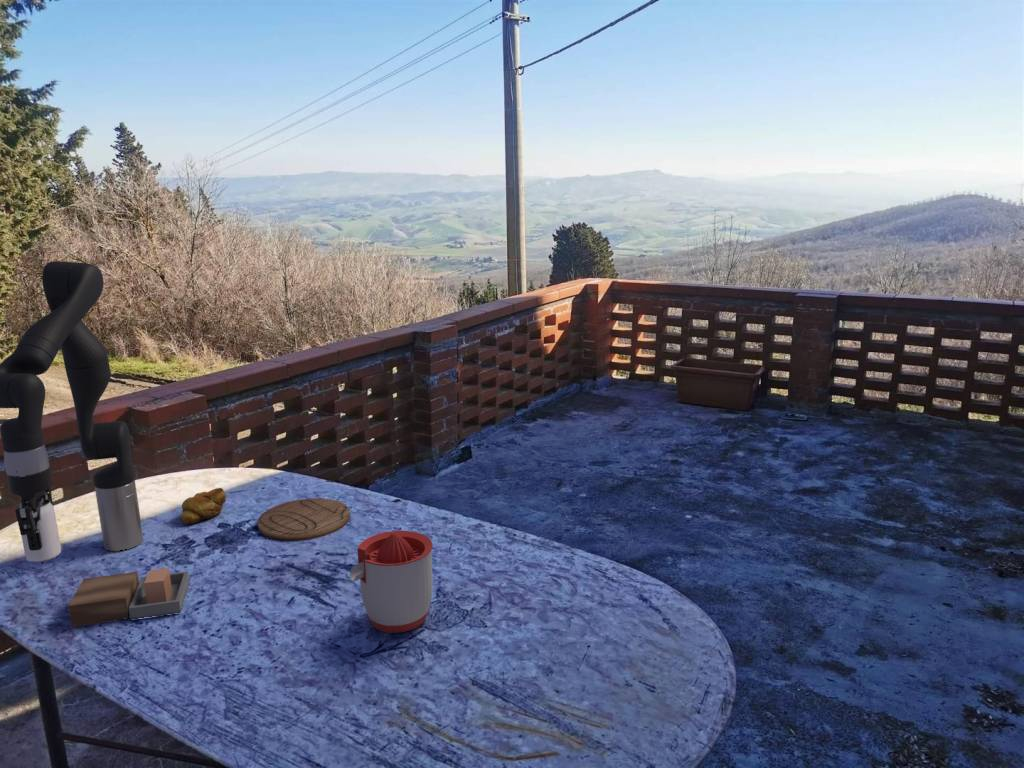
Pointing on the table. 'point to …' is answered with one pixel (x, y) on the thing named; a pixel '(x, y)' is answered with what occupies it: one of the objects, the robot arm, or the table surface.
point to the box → (172, 606)
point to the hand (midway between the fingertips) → (41, 541)
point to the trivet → (304, 519)
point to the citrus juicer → (395, 579)
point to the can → (44, 536)
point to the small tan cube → (158, 586)
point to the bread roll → (203, 506)
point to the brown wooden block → (103, 599)
